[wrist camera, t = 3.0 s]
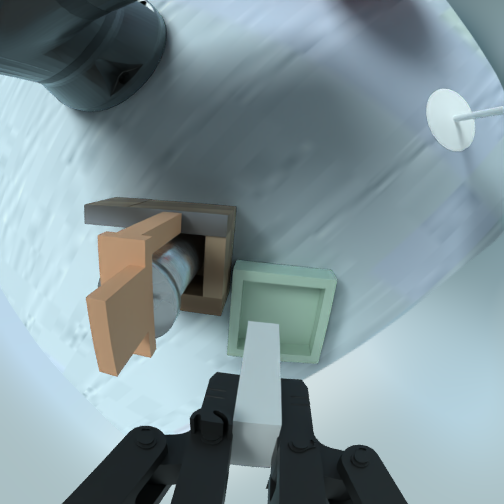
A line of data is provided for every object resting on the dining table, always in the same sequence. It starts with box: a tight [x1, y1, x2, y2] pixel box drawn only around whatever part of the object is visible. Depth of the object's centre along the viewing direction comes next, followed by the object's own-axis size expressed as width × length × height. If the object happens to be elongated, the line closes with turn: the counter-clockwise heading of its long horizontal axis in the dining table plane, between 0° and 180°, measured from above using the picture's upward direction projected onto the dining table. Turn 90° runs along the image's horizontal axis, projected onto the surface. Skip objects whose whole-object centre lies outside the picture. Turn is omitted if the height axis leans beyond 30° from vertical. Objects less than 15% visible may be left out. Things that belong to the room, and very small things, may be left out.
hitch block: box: [84, 197, 236, 316], centre depth 28 cm, size 9×14×6 cm, turn 85°
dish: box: [227, 260, 337, 364], centre depth 31 cm, size 10×10×3 cm
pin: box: [98, 233, 206, 338], centre depth 24 cm, size 6×6×13 cm
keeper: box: [86, 212, 182, 376], centre depth 18 cm, size 7×3×13 cm, turn 175°
